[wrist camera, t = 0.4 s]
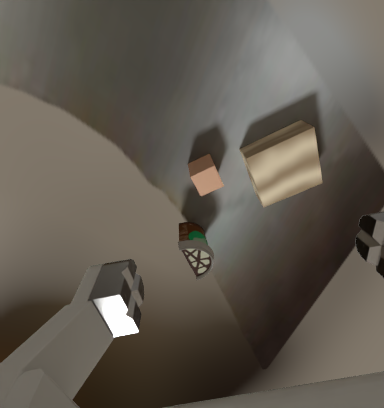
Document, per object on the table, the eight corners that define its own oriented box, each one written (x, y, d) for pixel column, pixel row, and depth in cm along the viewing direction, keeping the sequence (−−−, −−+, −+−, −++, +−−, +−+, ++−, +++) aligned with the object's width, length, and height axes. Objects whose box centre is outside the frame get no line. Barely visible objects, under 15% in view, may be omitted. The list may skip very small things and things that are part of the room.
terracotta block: (187, 163, 48) (190, 176, 43) (209, 153, 47) (214, 165, 42) (197, 182, 51) (201, 196, 46) (218, 172, 50) (223, 186, 45)
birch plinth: (239, 148, 47) (246, 158, 43) (300, 119, 45) (314, 127, 41) (256, 195, 54) (263, 207, 50) (310, 172, 52) (322, 182, 48)
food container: (214, 244, 62) (221, 274, 54) (193, 251, 63) (197, 281, 55) (199, 211, 55) (205, 239, 47) (176, 219, 56) (178, 248, 48)
